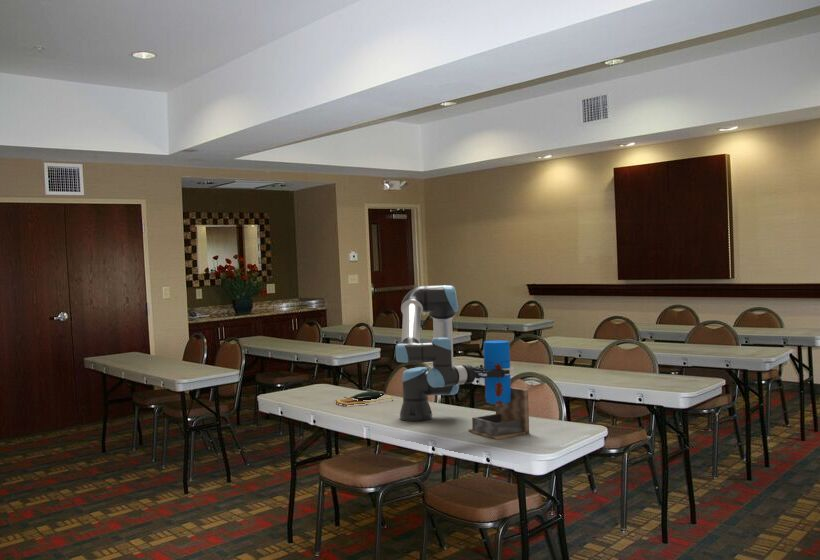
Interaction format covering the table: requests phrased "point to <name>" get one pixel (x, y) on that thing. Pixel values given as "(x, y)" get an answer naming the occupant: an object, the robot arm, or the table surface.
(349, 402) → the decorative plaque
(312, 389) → the table surface
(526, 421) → the mount board
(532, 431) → the table surface
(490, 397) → the thermos
